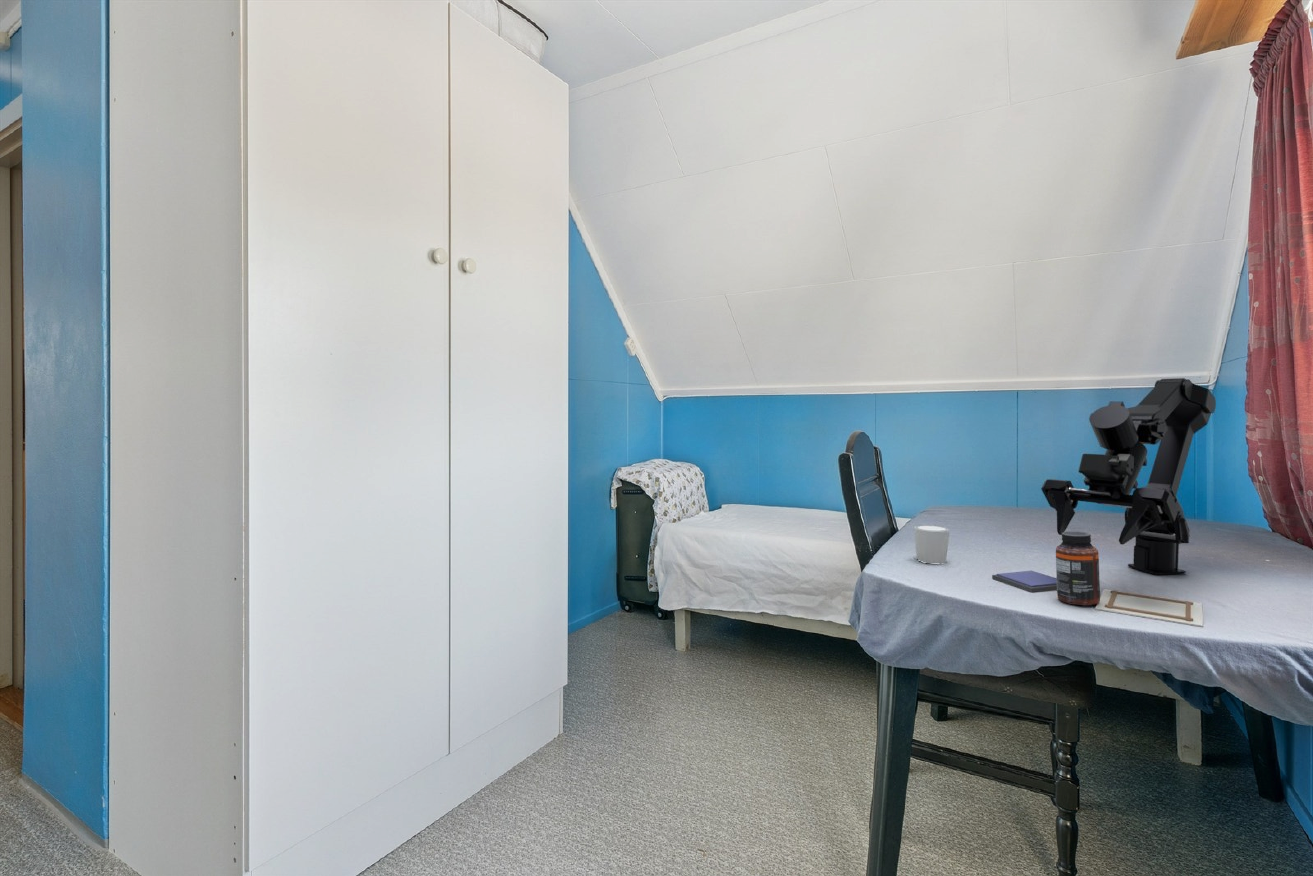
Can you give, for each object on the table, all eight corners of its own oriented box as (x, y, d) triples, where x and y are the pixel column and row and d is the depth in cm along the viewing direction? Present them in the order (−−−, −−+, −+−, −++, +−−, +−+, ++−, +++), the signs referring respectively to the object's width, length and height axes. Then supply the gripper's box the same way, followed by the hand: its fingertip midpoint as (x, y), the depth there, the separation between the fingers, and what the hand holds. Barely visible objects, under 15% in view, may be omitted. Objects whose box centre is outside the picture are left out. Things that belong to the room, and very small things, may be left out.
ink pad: (1031, 574, 121) (1031, 569, 121) (1073, 588, 112) (1073, 582, 112) (992, 578, 119) (992, 573, 119) (1031, 592, 110) (1031, 586, 110)
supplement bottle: (1087, 596, 107) (1085, 529, 107) (1108, 606, 102) (1107, 536, 101) (1049, 596, 108) (1048, 530, 108) (1068, 607, 102) (1067, 537, 102)
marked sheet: (1103, 590, 111) (1103, 587, 111) (1201, 604, 103) (1202, 601, 103) (1095, 609, 101) (1095, 606, 101) (1203, 627, 93) (1203, 623, 93)
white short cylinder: (907, 557, 136) (907, 525, 135) (938, 556, 136) (938, 524, 136) (923, 565, 129) (924, 531, 128) (956, 564, 129) (956, 530, 129)
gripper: (1047, 434, 116) (1014, 500, 110) (1173, 439, 100) (1142, 515, 95) (1067, 475, 121) (1036, 539, 115) (1190, 484, 105) (1161, 560, 100)
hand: (1088, 537), depth 106 cm, fingers open, 9 cm apart
